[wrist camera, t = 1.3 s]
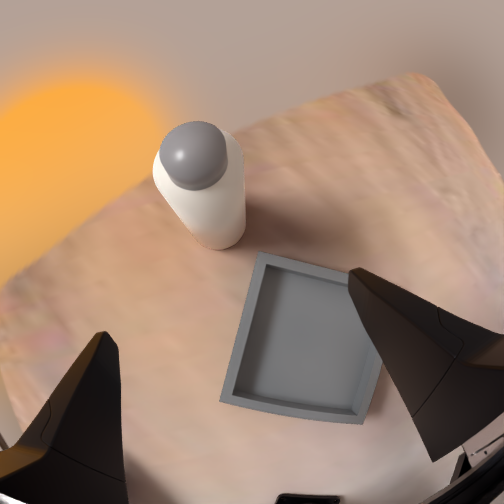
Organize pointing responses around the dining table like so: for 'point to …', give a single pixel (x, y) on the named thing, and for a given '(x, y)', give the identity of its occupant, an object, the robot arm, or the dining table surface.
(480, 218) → the dining table surface
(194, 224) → the bottle
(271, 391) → the dish
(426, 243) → the dining table surface
